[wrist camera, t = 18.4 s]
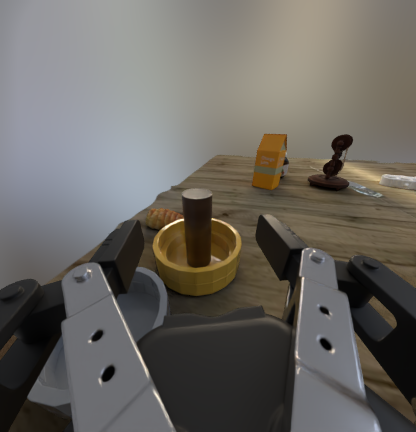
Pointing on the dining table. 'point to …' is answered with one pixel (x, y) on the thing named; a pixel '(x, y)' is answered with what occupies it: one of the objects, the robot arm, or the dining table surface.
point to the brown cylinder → (197, 226)
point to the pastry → (161, 218)
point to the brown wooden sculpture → (334, 165)
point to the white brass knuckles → (398, 181)
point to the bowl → (204, 276)
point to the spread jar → (284, 167)
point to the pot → (138, 325)
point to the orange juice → (270, 161)
